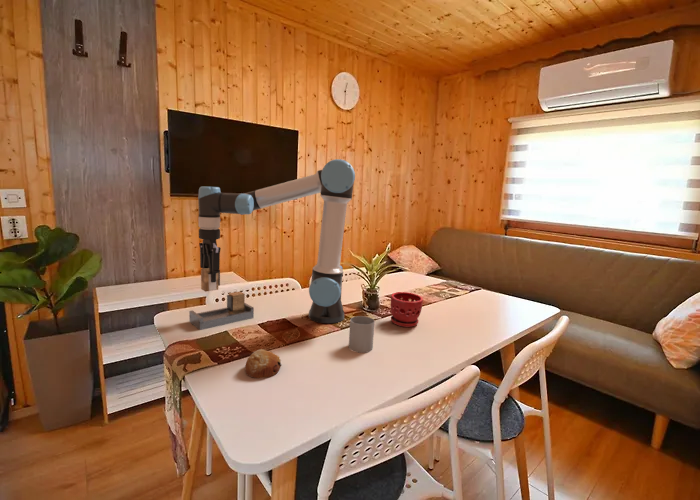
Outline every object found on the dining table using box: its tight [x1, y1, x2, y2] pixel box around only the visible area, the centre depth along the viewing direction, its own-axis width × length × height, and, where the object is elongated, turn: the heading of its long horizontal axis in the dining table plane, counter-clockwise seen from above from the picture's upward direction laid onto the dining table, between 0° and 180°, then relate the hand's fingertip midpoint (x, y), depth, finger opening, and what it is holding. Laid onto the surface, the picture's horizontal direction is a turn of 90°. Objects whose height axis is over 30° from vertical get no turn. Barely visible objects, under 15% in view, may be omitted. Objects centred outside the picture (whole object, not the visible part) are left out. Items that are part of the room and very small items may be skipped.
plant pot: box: [390, 291, 424, 328], centre depth 152 cm, size 13×13×12 cm
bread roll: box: [244, 349, 282, 379], centre depth 107 cm, size 10×10×8 cm
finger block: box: [200, 268, 221, 293], centre depth 139 cm, size 4×6×8 cm
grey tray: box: [188, 291, 254, 331], centre depth 144 cm, size 10×22×10 cm, turn 134°
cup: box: [348, 315, 375, 354], centre depth 126 cm, size 8×8×10 cm
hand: (209, 288), depth 139 cm, fingers closed on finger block, 4 cm apart
